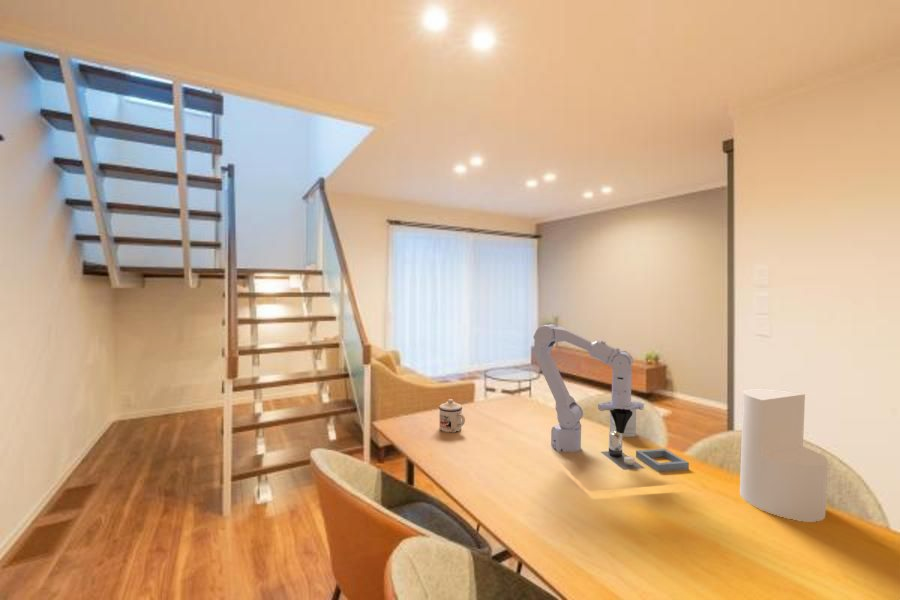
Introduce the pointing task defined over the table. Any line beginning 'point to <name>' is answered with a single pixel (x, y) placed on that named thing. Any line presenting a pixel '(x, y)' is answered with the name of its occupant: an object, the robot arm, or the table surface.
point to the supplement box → (630, 427)
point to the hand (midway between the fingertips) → (620, 432)
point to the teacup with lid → (451, 416)
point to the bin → (666, 466)
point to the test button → (629, 460)
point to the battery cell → (615, 444)
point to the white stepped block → (780, 457)
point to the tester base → (622, 461)
